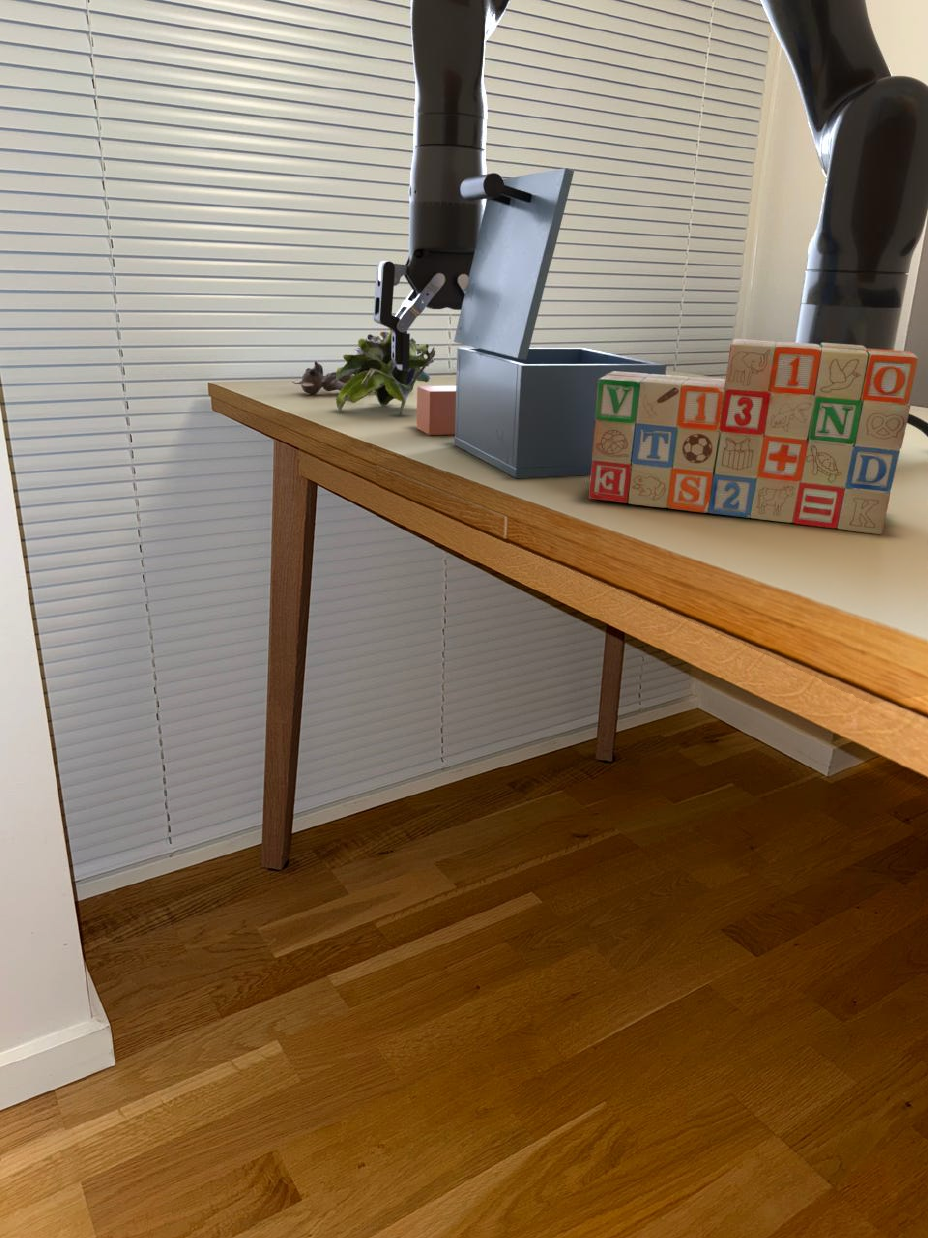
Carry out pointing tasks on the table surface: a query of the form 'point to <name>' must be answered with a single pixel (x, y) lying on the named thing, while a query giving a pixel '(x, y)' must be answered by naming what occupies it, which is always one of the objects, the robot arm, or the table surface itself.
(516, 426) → the blue-grey open box
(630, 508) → the table surface
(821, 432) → the stack of blocks
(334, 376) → the grey irregular figure
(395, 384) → the green leafy plant
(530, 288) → the lid
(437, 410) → the block
